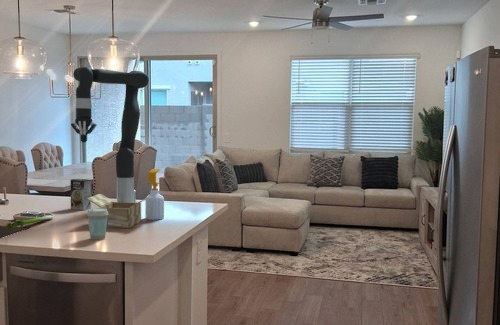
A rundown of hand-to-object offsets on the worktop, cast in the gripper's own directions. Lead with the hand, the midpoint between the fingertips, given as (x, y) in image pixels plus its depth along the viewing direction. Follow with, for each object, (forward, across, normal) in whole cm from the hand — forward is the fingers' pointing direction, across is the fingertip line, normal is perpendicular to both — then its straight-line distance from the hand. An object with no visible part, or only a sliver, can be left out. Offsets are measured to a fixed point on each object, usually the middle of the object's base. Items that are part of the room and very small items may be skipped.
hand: (83, 142), depth 253 cm
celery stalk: (+38, -14, -27) cm, 49 cm away
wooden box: (+37, +25, -18) cm, 48 cm away
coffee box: (+37, -9, +16) cm, 42 cm away
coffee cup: (+37, +26, -46) cm, 65 cm away
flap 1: (+28, +19, -18) cm, 38 cm away
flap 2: (+28, +32, -18) cm, 46 cm away
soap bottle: (+37, +37, -1) cm, 52 cm away
